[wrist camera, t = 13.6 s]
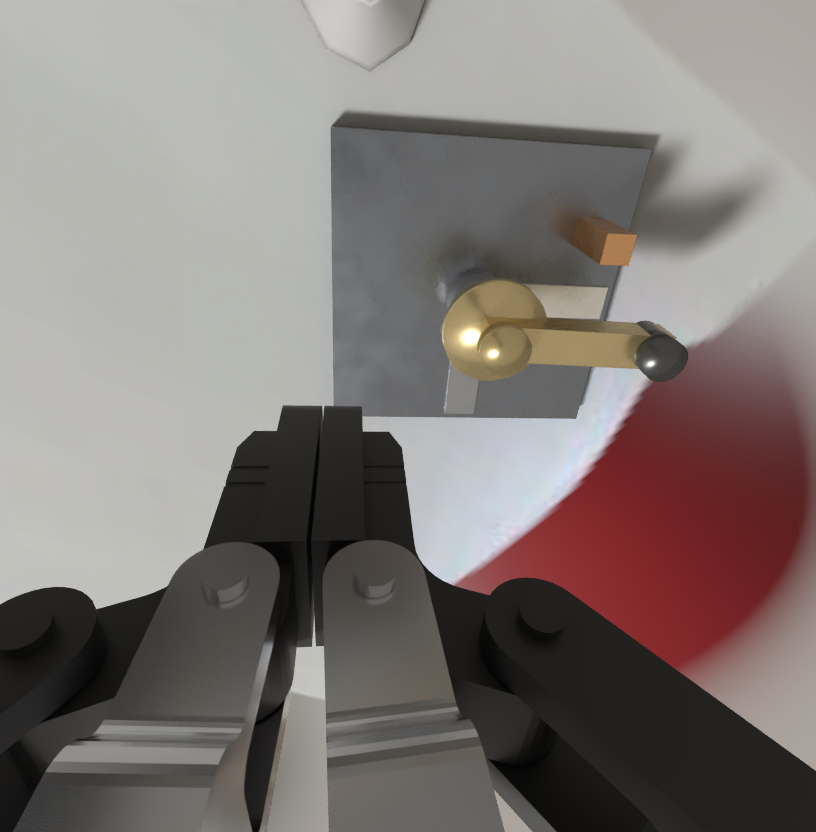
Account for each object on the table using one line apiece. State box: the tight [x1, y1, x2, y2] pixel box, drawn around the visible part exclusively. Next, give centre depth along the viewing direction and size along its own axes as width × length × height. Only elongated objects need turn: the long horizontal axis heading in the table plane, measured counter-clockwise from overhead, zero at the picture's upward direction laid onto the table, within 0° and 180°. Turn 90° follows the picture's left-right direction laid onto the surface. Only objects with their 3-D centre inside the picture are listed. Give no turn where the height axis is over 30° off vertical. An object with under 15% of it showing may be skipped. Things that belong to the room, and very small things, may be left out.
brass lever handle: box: [441, 278, 688, 382], centre depth 34 cm, size 15×7×4 cm, turn 85°
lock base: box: [331, 126, 652, 419], centre depth 38 cm, size 22×22×7 cm
